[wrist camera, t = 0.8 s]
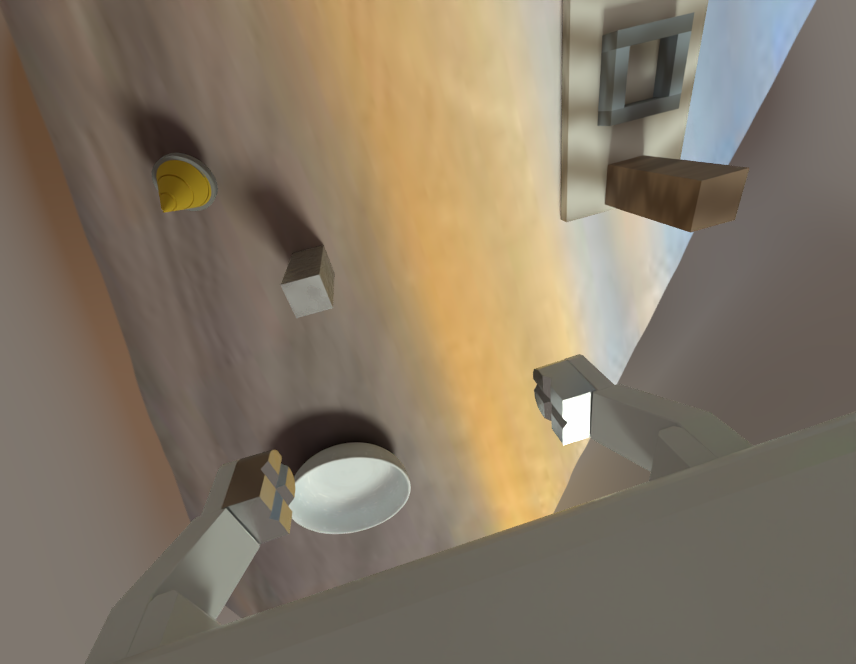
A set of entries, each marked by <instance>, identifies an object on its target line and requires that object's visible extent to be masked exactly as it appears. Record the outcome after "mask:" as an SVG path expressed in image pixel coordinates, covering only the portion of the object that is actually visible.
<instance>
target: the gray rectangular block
mask: <svg viewBox="0 0 856 664" xmlns="http://www.w3.org/2000/svg"><path fill="white" fill-rule="evenodd" d="M334 277H335V273H334V271H333V268H332V265H331V263H330V260H329V258H328V255H327V252H326V250H325V247H324V245H322V246H318V247H314V248H311V249H307V250H303V251H299V252H296V253H292V256H291V259H290V261H289V264H288V267H287V269H286V272H285V275H284V277H283V280H282V283H281V287H282V289H283V291H284V293H285V295H286V297H287V299H288V301H289V304H290V306H291V308H292V310H293V312H294V314H295V316H296V318H298V317H302V316H306V315H309V314H313V313H316V312H320V311H324V310H327V309H331V308H333V295H334Z"/></svg>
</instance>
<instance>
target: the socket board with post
mask: <svg viewBox="0 0 856 664" xmlns="http://www.w3.org/2000/svg"><path fill="white" fill-rule="evenodd" d="M707 5H708V0H563V29H562V152H561V220H563V221H565V222H569V221H573V220H576V219H580V218H584V217H587V216H591V215H595V214H598V213H602V212H605V211H609V210H613V209H616V208H617V209H620V210H623V211H626V212H629V213H633V214H636V215H639V216H642V217H645V218H648V219H651V220H654V221H657V222H660V223H663V224H666V225H669V226H673V227H676V228H679V229H682V230H685V231H688V232H694V231H697V230H701V229H704V228H708V227H711V226H715V225H718V224H722V223H725V222H729V221H732V220H735V217H736V214H737V210H738V207H739V203H740V200H741V196H742V192H743V189H744V185H745V182H746V178H747V174H748V171H749V168H747V167H738V166H730V165H721V164H713V163H705V162H696V161H688V160H680V157H681V151H682V146H683V140H684V135H685V129H686V123H687V118H688V112H689V106H690V101H691V95H692V90H693V84H694V78H695V73H696V67H697V61H698V56H699V50H700V45H701V39H702V33H703V28H704V22H705V17H706V11H707Z"/></svg>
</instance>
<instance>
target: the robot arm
mask: <svg viewBox="0 0 856 664" xmlns="http://www.w3.org/2000/svg"><path fill="white" fill-rule="evenodd" d="M533 379H534V380H535V382H536V383H537V386H536V388H535V389H534V392H535V399H536V402H537V405H538V408H539V410H540V412H541V413H542V415H543V416H544V418H546V419H548V420H550V421H552V429H553V431H554V432H555V434H556V435H557V436H558V438H559V439H560V441H561V442H562V443H563V445H564V444H568V443H571V442H575V441H578V440H581V439H585V438H588V437H591V439H593V440H594V441H596V442H598V443H600V444H602V445H603V446H605V447H607V448H609V449H611V450H612V451H614V452H616V453H618V454H620V455H621V456H623V457H625V458H627V459H629V460H630V461H632V462H634V463H636V464H638V465H639V466H641V467H643V468H645V469H647V470H649V471H650V472H651V474H650V480H649V482H646V483H643V484H640V485H637V486H634V487H631V488H628V489H625V490H622V491H619V492H616V493H613V494H610V495H607V496H604V497H601V498H598V499H595V500H593V501H589V502H586V503H583V504H580V505H578V506H574V507H572V508H569V509H566V510H563V511H560V512H557V513H554V514H551V515H548V516H545V517H542V518H539V519H536V520H533V521H530V522H527V523H524V524H521V525H518V526H515V527H512V528H509V529H506V530H503V531H501V532H498V533H495V534H492V535H489V536H486V537H483V538H480V539H477V540H474V541H471V542H468V543H465V544H462V545H459V546H456V547H453V548H450V549H447V550H444V551H441V552H438V553H435V554H432V555H429V556H426V557H424V558H421V559H418V560H415V561H412V562H409V563H406V564H403V565H400V566H397V567H394V568H391V569H388V570H385V571H382V572H379V573H376V574H373V575H370V576H367V577H364V578H361V579H358V580H355V581H352V582H349V583H346V584H343V585H340V586H337V587H334V588H331V589H328V590H326V591H323V592H320V593H317V594H314V595H311V596H308V597H305V598H302V599H299V600H296V601H293V602H290V603H287V604H284V605H281V606H278V607H275V608H272V609H269V610H266V611H263V612H260V613H257V614H254V615H251V616H248V617H245V618H242V619H240V620H236V621H234V622H231V623H228V624H225V625H222V624H220V623H219V622H218V621H216V619H217V617H218V615H219V614H220V612H221V610H222V608H223V607H224V605H225V604H226V602H227V600H228V599H229V597H230V595H231V594H232V592H233V590H234V589H235V587H236V585H237V584H238V582H239V580H240V579H241V577H242V575H243V574H244V572H245V570H246V569H247V567H248V565H249V564H250V562H251V560H252V559H253V557H254V555H255V554H256V552H257V550H258V549H259V547H260V545H259V544H262V543H265V542H268V541H270V540H273V539H276V538H279V537H282V536H284V535H287V534H289V532H290V525H291V519H292V510H291V509H290V508H289V505H290V503H291V502H292V500H293V499H294V497H295V480H294V476H293V474H292V471H291V470H290V468H289V467H288V466H286V465H283V464H281V460H282V456H281V455H280V454H279V452H278V451H277V450H270V451H267V452H263V453H259V454H256V455H252V456H249V457H245V458H242V459H240V460H236V461H233V462H229V463H225V464H223V465H222V466H221V467H220V468H219V470H218V472H217V475H216V478H215V480H214V483H213V486H212V488H211V491H210V493H209V496H208V499H207V501H206V504H205V507H204V509H203V512H202V514H201V516H200V517H197V518H195V519H194V520H193V521H192V522H191V523H190V524H189V525H188V526H187V528H186V529H185V530H184V531H183V532H182V533H181V534H180V535H179V536H178V537H177V538H176V539H175V541H174V542H173V543H172V544H171V545H170V546H169V547H168V548H167V549H166V550H165V551H164V552H163V554H162V555H161V556H160V557H159V558H158V559H157V560H156V561H155V562H154V563H153V564H152V565H151V567H150V568H149V569H148V570H147V571H146V572H145V573H144V574H143V575H142V576H141V577H140V579H139V580H138V581H137V582H136V583H135V584H134V585H133V586H132V587H131V588H130V589H129V590H128V591H127V593H126V594H125V595H124V596H123V597H122V598H121V599H120V600H119V601H118V602H117V603H116V605H115V606H114V607H113V608H112V609H111V611H110V614H109V615H108V617H107V620H106V622H105V624H104V626H103V628H102V630H101V632H100V634H99V636H98V638H97V640H96V642H95V644H94V646H93V648H92V650H91V652H90V654H89V656H88V658H87V660H86V662H85V664H856V412H853V413H850V414H847V415H844V416H841V417H838V418H835V419H832V420H829V421H827V422H824V423H821V424H818V425H815V426H812V427H809V428H806V429H803V430H800V431H797V432H794V433H791V434H789V435H785V436H783V437H779V438H776V439H773V440H770V441H767V442H764V443H761V444H758V445H755V446H753V445H752V444H751V443H749V442H748V441H747V440H745V439H744V438H743V437H742V436H740V435H739V434H738V433H736V432H735V431H734V430H733V429H731V428H730V427H729V426H727V425H726V424H725V423H723V422H722V421H721V420H719V419H718V418H717V417H716V416H714V415H713V414H712V413H710V412H707V411H704V410H700V409H698V408H694V407H691V406H688V405H685V404H682V403H678V402H675V401H672V400H669V399H666V398H663V397H660V396H656V395H653V394H650V393H647V392H644V391H640V390H637V389H634V388H631V387H628V386H624V385H622V384H617V385H614V384H613V383H612V382H611V381H610V380H609V379H608V378H606V377H605V376H604V375H603V374H602V373H601V372H600V371H599V370H598V369H597V368H596V367H595V366H594V365H592V364H591V363H590V362H589V361H588V360H587V359H586V358H585V357H584V356H583V355H580V354H579V355H576V356H573V357H569V358H566V359H564V360H561V361H558V362H555V363H551V364H548V365H545V366H542V367H539V368H536V369H534V371H533Z"/></svg>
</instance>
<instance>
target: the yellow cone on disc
mask: <svg viewBox="0 0 856 664" xmlns="http://www.w3.org/2000/svg"><path fill="white" fill-rule="evenodd" d="M152 180H153V183H154V185H155V188H156V189H157V191H158V192H159V197H160V203H161V209H162V210H164V211H163V212H170V211H176V210H183V209H184V210H189V211H199V210H203V209H206V208H207V207H209V206H210V205H211V204H212V203H213V201H214V200H215V198H216V195H217V190H218V188H217V182H216V179H215V177H214V175H213V173H212V172H211V171H210V170H209V168H208V167H207V166H206V165H205V164H203V163H202V162H201V161H199V160H198V159H196V158H194V157H192V156H190V155H187V154H182V153H170V154H167V155H164V156H163V157H161V158H160V159H159V160H158V161H157V162H156V163H155V165H154V166H153V169H152Z"/></svg>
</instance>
